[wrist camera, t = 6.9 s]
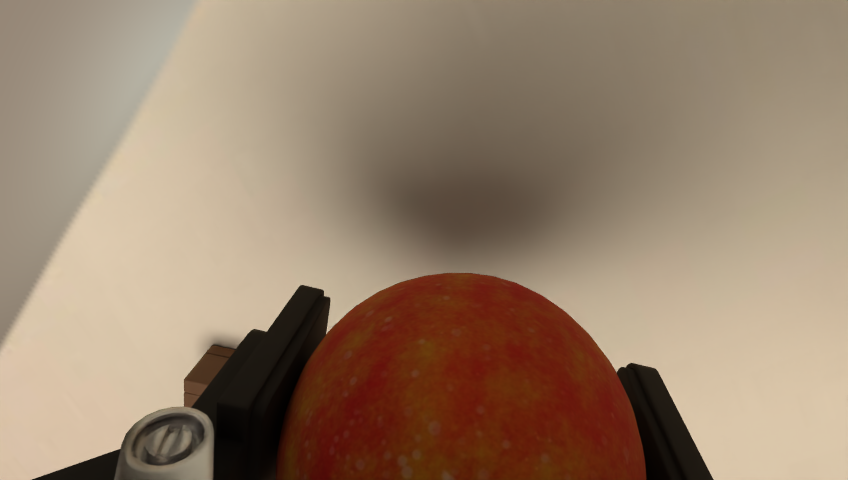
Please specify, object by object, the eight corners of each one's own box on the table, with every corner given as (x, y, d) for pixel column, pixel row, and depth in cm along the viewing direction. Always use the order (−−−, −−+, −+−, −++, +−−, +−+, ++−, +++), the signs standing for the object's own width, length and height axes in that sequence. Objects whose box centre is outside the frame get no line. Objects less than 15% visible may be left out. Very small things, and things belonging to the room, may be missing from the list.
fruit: (655, 335, 12) (922, 809, 5) (476, 470, 15) (470, 903, 7) (445, 164, 11) (366, 444, 3) (293, 345, 13) (69, 715, 6)
